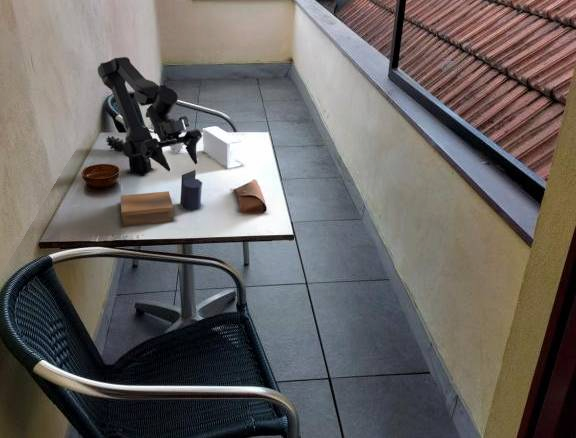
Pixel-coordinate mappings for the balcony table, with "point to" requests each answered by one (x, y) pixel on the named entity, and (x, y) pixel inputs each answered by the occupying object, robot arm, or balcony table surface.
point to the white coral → (176, 147)
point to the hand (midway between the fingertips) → (183, 167)
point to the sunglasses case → (250, 198)
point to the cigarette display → (220, 146)
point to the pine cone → (116, 143)
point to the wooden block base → (146, 208)
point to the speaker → (190, 191)
